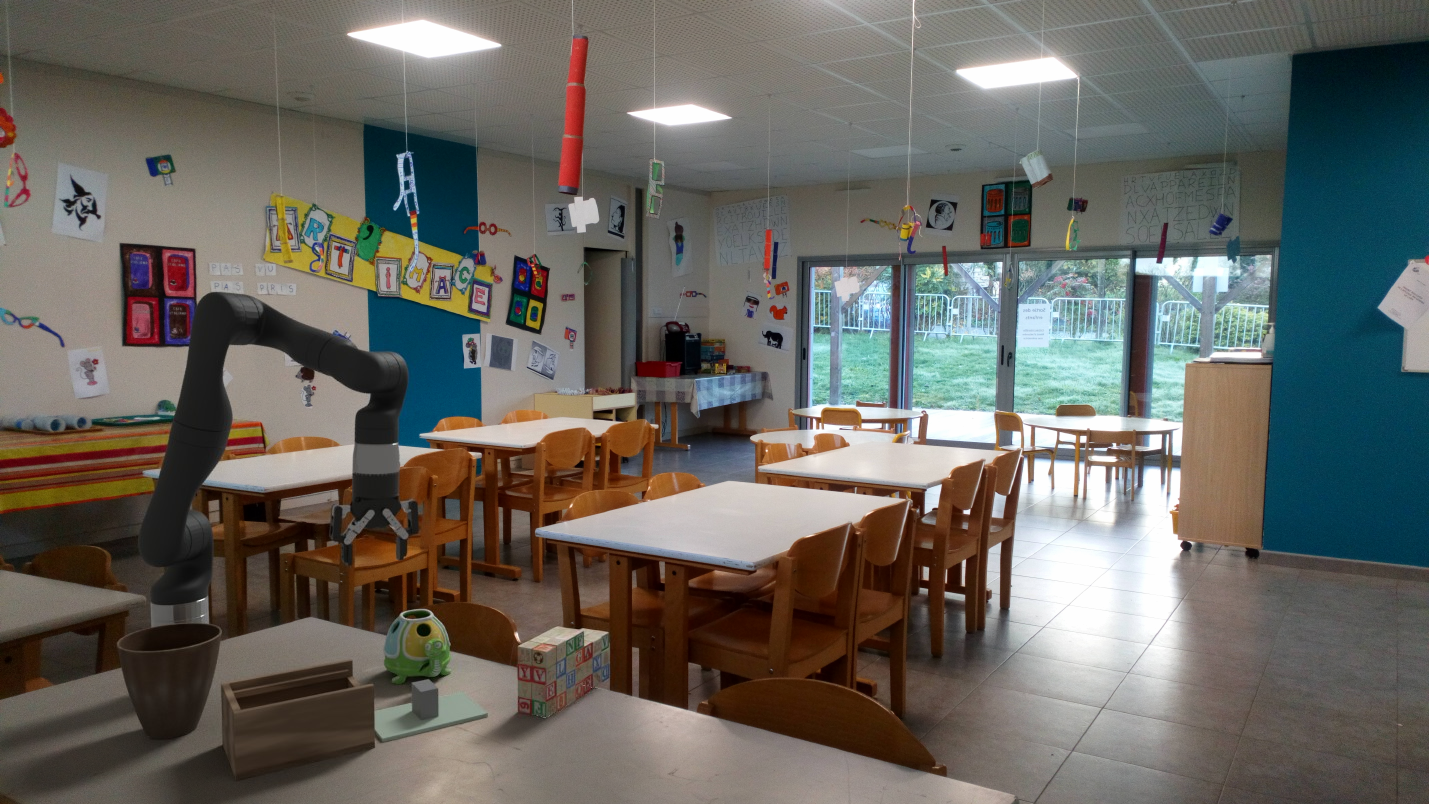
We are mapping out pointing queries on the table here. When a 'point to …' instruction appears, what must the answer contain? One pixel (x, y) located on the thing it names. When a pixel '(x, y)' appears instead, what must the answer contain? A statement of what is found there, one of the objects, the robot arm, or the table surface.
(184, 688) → the plant pot
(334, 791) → the table surface
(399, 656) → the turtle holder
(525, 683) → the stack of blocks
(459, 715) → the lid
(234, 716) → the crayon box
